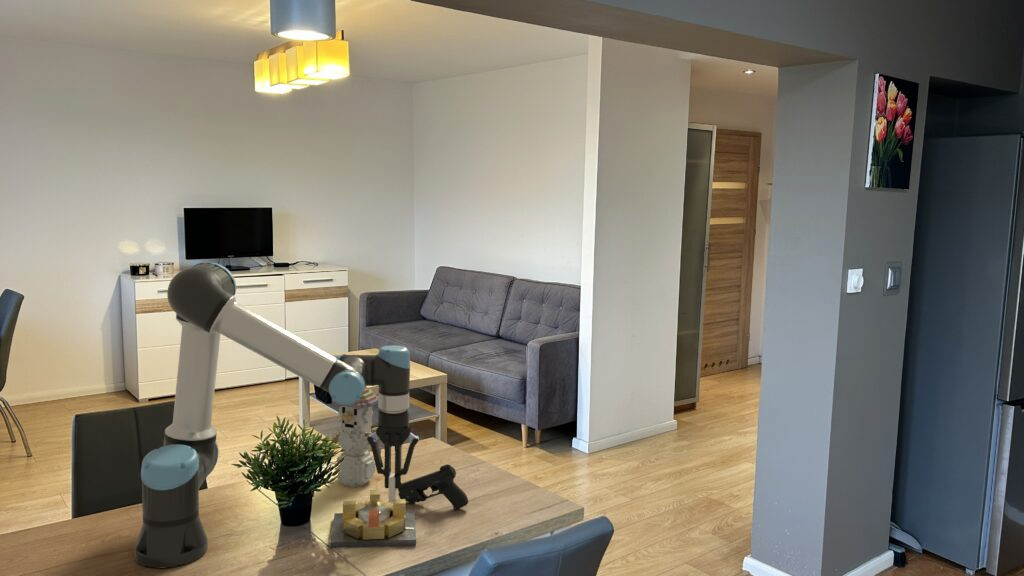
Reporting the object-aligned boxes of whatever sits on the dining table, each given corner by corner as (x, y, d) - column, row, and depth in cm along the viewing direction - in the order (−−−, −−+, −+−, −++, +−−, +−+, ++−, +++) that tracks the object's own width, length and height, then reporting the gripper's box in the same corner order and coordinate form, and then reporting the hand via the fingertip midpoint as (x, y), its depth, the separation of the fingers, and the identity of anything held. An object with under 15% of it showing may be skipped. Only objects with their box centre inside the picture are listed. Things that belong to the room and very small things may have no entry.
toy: (318, 484, 220) (319, 380, 216) (342, 469, 232) (343, 370, 227) (368, 494, 215) (369, 387, 211) (390, 478, 226) (392, 377, 222)
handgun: (468, 506, 206) (451, 464, 205) (411, 525, 210) (394, 484, 209) (470, 503, 208) (453, 461, 207) (414, 521, 212) (396, 481, 211)
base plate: (329, 548, 183) (329, 527, 182) (334, 518, 199) (334, 499, 198) (416, 545, 186) (416, 524, 185) (414, 516, 202) (414, 497, 201)
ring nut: (340, 540, 184) (341, 515, 183) (344, 513, 198) (344, 490, 197) (405, 538, 186) (406, 514, 185) (404, 511, 201) (405, 489, 200)
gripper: (422, 405, 197) (420, 495, 200) (370, 403, 197) (369, 493, 200) (418, 414, 189) (416, 507, 192) (364, 412, 189) (363, 505, 193)
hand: (392, 500), depth 196 cm, fingers closed
